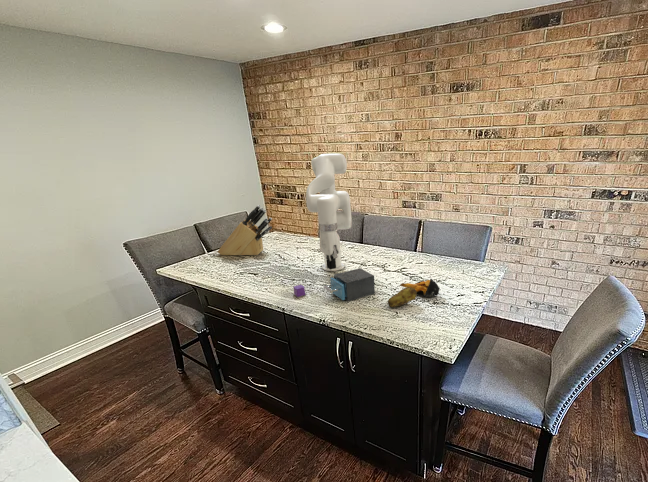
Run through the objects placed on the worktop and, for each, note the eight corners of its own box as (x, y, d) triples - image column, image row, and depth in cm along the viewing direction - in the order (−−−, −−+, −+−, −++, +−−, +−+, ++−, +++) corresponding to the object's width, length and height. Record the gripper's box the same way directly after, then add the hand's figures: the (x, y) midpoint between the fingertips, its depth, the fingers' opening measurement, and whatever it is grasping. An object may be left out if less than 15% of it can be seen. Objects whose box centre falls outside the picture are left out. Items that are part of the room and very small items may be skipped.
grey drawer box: (347, 301, 152) (346, 282, 149) (335, 292, 162) (333, 274, 158) (374, 293, 160) (374, 275, 156) (360, 285, 169) (360, 268, 166)
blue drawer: (333, 303, 149) (332, 288, 146) (322, 294, 157) (320, 280, 154) (368, 292, 158) (367, 278, 155) (355, 285, 167) (355, 271, 164)
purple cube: (294, 294, 160) (293, 286, 159) (302, 292, 163) (301, 284, 161) (297, 297, 157) (296, 289, 156) (305, 294, 159) (304, 287, 158)
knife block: (272, 255, 216) (264, 207, 204) (217, 256, 217) (207, 207, 205) (277, 250, 227) (270, 203, 214) (225, 250, 227) (216, 204, 215)
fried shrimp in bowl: (439, 293, 148) (401, 278, 149) (432, 307, 156) (396, 293, 158) (444, 278, 154) (407, 264, 155) (437, 293, 162) (402, 279, 164)
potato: (386, 301, 151) (386, 285, 148) (415, 300, 152) (415, 284, 149) (388, 310, 144) (387, 293, 141) (417, 309, 144) (418, 292, 141)
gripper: (312, 225, 146) (316, 265, 153) (328, 232, 134) (331, 275, 141) (328, 222, 150) (331, 261, 157) (344, 229, 138) (347, 271, 145)
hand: (331, 267), depth 149 cm, fingers closed
